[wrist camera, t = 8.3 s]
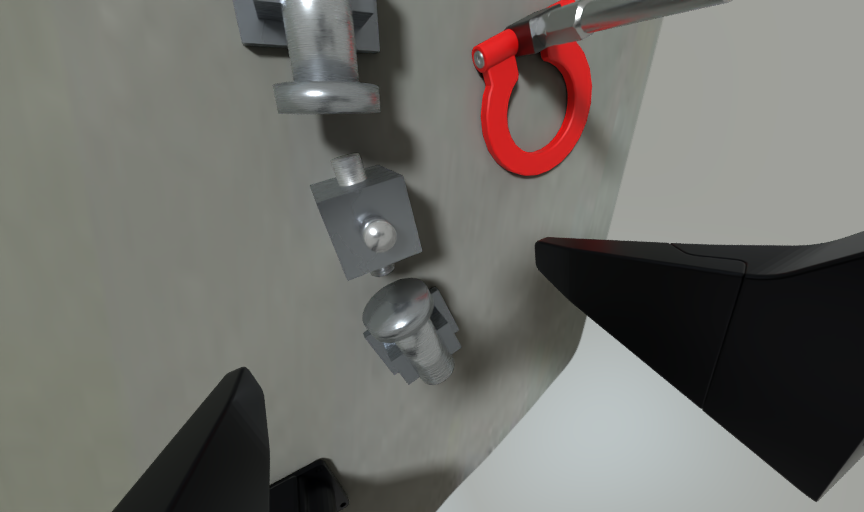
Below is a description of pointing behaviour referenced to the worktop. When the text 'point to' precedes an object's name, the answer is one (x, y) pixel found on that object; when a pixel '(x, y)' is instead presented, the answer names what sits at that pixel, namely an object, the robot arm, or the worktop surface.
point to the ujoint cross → (367, 216)
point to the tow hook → (556, 40)
